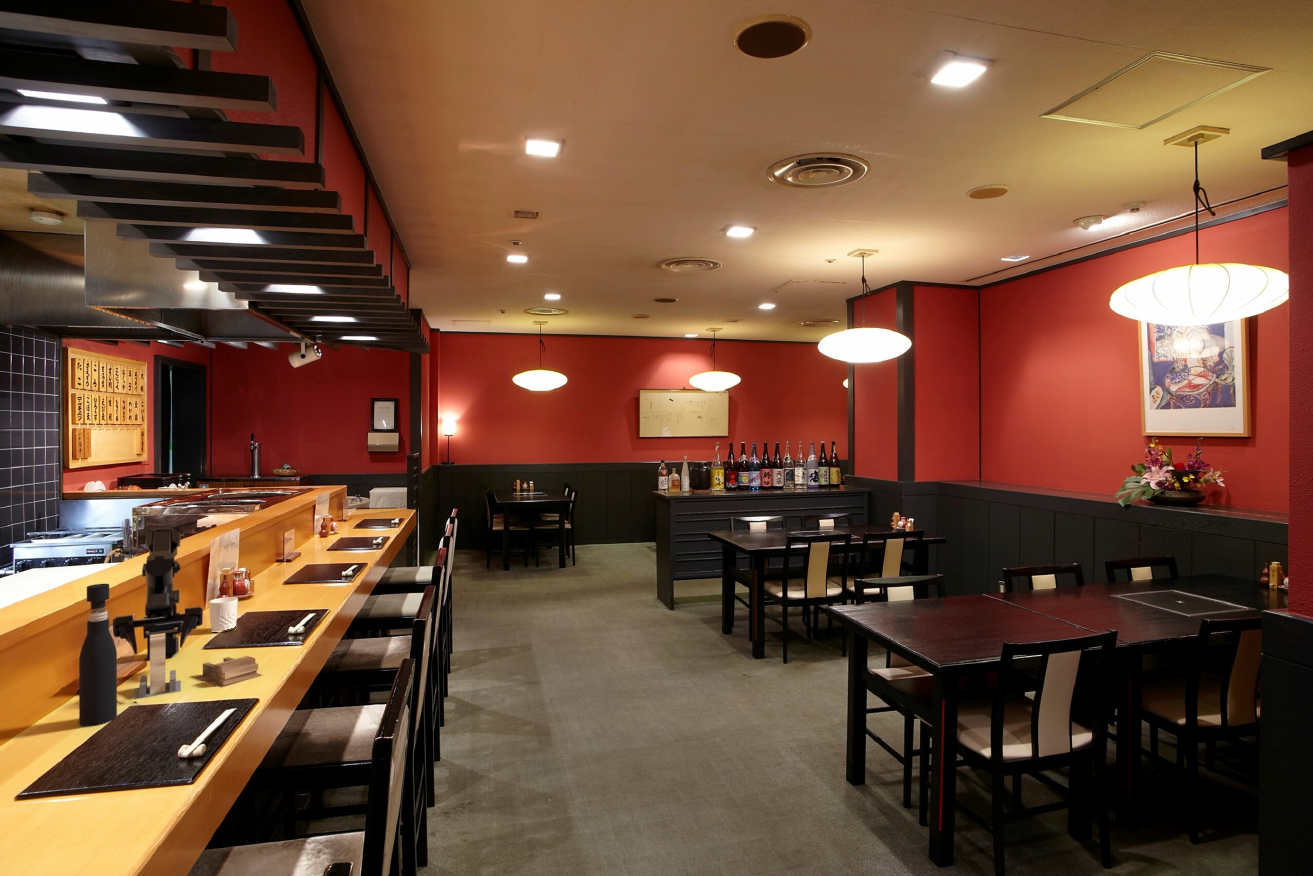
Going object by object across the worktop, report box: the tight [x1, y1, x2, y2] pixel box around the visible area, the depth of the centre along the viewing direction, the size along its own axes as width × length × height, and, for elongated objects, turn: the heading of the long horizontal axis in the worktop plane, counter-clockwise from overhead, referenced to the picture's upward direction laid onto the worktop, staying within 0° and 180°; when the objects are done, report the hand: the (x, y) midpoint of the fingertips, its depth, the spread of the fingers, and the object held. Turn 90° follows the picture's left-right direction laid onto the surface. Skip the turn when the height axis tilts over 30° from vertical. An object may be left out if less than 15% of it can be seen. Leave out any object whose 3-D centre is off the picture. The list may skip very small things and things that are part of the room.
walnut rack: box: [194, 656, 263, 688], centre depth 173 cm, size 14×10×4 cm
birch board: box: [149, 633, 166, 694], centre depth 164 cm, size 5×3×13 cm, turn 37°
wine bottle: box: [78, 583, 118, 727], centre depth 148 cm, size 6×6×30 cm
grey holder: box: [133, 669, 182, 704], centre depth 164 cm, size 9×9×4 cm
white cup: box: [208, 596, 239, 632], centre depth 218 cm, size 8×8×10 cm
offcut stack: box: [213, 655, 259, 685], centre depth 171 cm, size 5×8×4 cm, turn 149°
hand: (158, 650), depth 169 cm, fingers open, 9 cm apart
